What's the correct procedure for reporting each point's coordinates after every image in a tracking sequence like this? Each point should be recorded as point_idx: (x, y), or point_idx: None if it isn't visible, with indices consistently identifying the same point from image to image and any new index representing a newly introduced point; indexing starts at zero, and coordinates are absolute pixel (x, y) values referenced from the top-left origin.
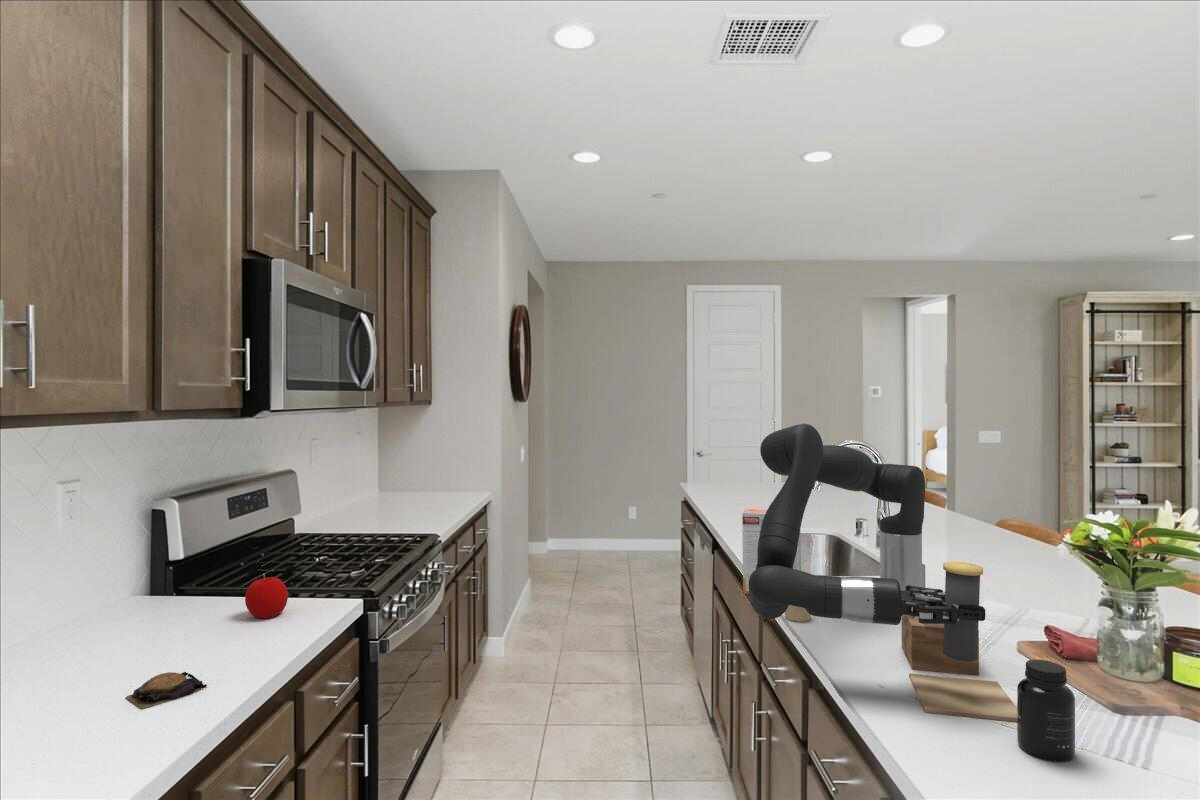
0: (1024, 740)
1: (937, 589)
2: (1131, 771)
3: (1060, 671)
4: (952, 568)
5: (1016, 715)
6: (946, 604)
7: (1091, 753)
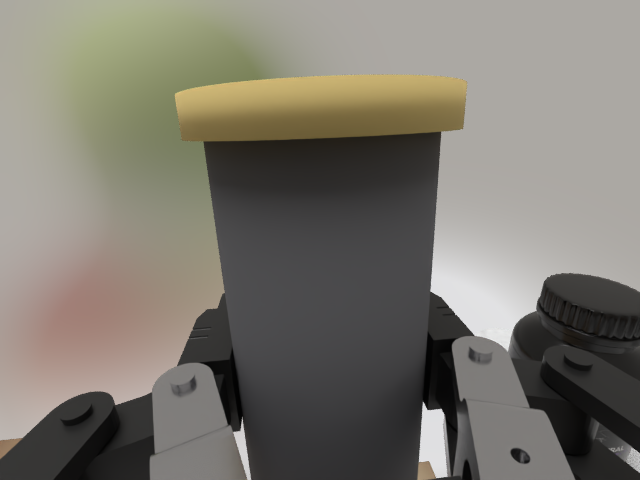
0: None
1: (48, 426)
2: None
3: (603, 279)
4: (460, 84)
5: (419, 477)
6: (522, 395)
7: None
